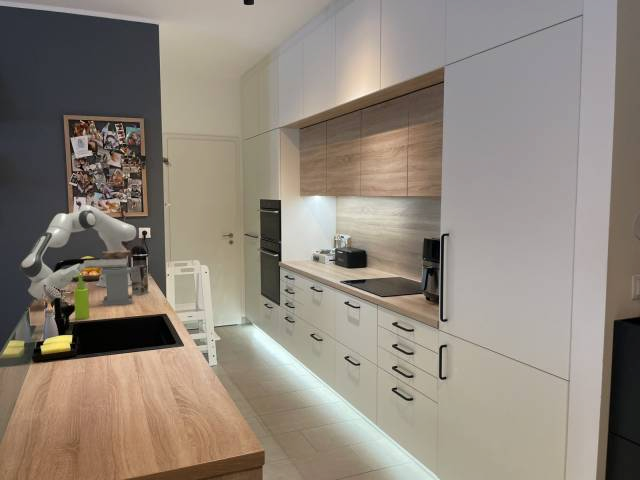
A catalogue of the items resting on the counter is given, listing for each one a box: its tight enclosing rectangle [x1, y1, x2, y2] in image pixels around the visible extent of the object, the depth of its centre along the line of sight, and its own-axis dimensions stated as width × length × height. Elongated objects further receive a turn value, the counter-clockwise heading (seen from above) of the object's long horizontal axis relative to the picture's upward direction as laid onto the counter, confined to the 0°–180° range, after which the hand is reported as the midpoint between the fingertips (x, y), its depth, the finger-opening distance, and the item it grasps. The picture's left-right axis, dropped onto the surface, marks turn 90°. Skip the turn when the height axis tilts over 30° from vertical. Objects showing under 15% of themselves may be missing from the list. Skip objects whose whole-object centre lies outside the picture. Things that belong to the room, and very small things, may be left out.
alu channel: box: [83, 258, 127, 269], centre depth 257 cm, size 20×4×4 cm, turn 110°
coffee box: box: [130, 264, 149, 296], centre depth 286 cm, size 9×6×16 cm
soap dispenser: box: [72, 274, 90, 320], centre depth 229 cm, size 6×7×20 cm
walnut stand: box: [101, 249, 133, 300], centre depth 270 cm, size 14×8×26 cm, turn 110°
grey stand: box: [100, 267, 133, 307], centre depth 260 cm, size 14×8×18 cm, turn 110°
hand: (88, 263), depth 254 cm, fingers closed on alu channel, 4 cm apart
